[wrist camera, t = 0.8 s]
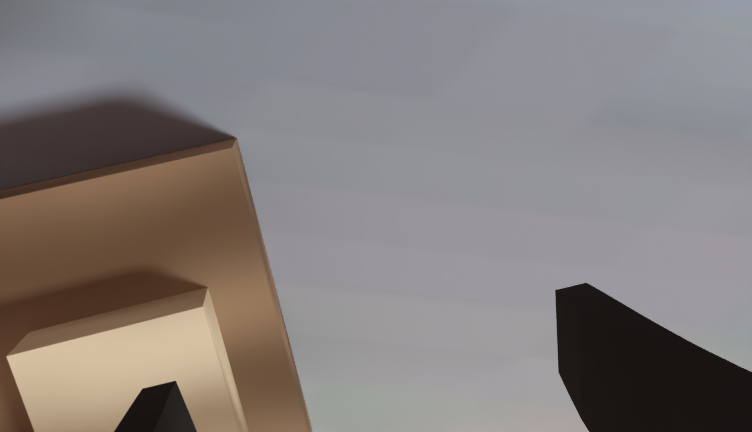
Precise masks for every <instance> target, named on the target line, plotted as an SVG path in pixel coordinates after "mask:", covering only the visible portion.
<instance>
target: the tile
mask: <svg viewBox="0 0 752 432" xmlns="http://www.w3.org/2000/svg"><path fill="white" fill-rule="evenodd" d="M6 357H7V360H8V362H9V365H10V368H11V370H12V373H13V376H14V378H15V381H16V384H17V386H18V389H19V392H20V395H21V397H22V400H23V403H24V405H25V408H26V411H27V413H28V416H29V419H30V421H31V424H32V427H33V429H34V432H114V431H115V429H116V428H117V426H118V425H119V423H120V421H121V420H122V418H123V417H124V415H125V414H126V412H127V411H128V409H129V408H130V406H131V405H132V403H133V402H134V400H135V399H136V397H137V396H138V395H139V393H140V392H141V390H142V389H143V388H147V387H151V386H156V385H160V384H164V383H168V382H172V381H176V382H177V385H178V387H179V389H180V392H181V394H182V397H183V399H184V401H185V404H186V406H187V409H188V411H189V413H190V416H191V418H192V421H193V423H194V425H195V428H196V430H197V432H249V430H248V426H247V423H246V419H245V416H244V412H243V409H242V405H241V402H240V398H239V395H238V391H237V388H236V384H235V381H234V377H233V374H232V370H231V367H230V363H229V360H228V356H227V353H226V349H225V345H224V342H223V338H222V335H221V331H220V328H219V324H218V321H217V317H216V314H215V310H214V307H213V303H212V300H211V296H210V293H209V289H208V287H207V288H203V289H199V290H195V291H191V292H187V293H183V294H179V295H175V296H171V297H167V298H163V299H159V300H155V301H151V302H147V303H143V304H139V305H135V306H131V307H127V308H123V309H119V310H115V311H111V312H107V313H103V314H99V315H95V316H91V317H87V318H83V319H79V320H75V321H71V322H67V323H63V324H59V325H55V326H51V327H47V328H43V329H39V330H35V331H31V332H29V333H28V334H27V335H26V336H25V337H24V338H23V339H22V340H21V341H20V342H19V343H18V344H17V346H16V347H15V348H14V349H13V350H12V351H11V352H10V353H9V354H8V355H7V356H6Z"/></svg>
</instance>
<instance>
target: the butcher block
mask: <svg viewBox="0 0 752 432" xmlns="http://www.w3.org/2000/svg"><path fill="white" fill-rule="evenodd" d="M207 287H208V289H209V293H210V296H211V300H212V303H213V307H214V310H215V314H216V317H217V321H218V324H219V328H220V331H221V335H222V338H223V342H224V345H225V349H226V353H227V356H228V360H229V363H230V367H231V370H232V374H233V377H234V381H235V384H236V388H237V391H238V395H239V398H240V402H241V405H242V409H243V412H244V416H245V419H246V423H247V426H248V430H249V432H312V428H311V424H310V420H309V416H308V412H307V409H306V405H305V401H304V397H303V393H302V389H301V385H300V381H299V378H298V374H297V370H296V366H295V362H294V358H293V354H292V350H291V347H290V343H289V339H288V335H287V331H286V327H285V323H284V319H283V316H282V312H281V308H280V304H279V300H278V296H277V292H276V288H275V285H274V281H273V277H272V273H271V269H270V265H269V261H268V257H267V254H266V250H265V246H264V242H263V238H262V234H261V230H260V226H259V222H258V219H257V215H256V211H255V207H254V203H253V199H252V195H251V191H250V188H249V184H248V180H247V176H246V172H245V168H244V164H243V160H242V157H241V153H240V149H239V145H238V141H237V138H234V139H230V140H225V141H221V142H216V143H212V144H207V145H203V146H198V147H194V148H189V149H185V150H180V151H176V152H171V153H167V154H162V155H158V156H153V157H149V158H144V159H140V160H135V161H131V162H126V163H122V164H117V165H113V166H108V167H104V168H99V169H95V170H90V171H86V172H81V173H77V174H72V175H68V176H63V177H58V178H54V179H49V180H45V181H40V182H36V183H31V184H27V185H22V186H18V187H13V188H9V189H4V190H0V432H34V429H33V427H32V424H31V421H30V419H29V416H28V413H27V411H26V408H25V405H24V403H23V400H22V397H21V395H20V392H19V389H18V386H17V384H16V381H15V378H14V376H13V373H12V370H11V368H10V365H9V362H8V360H7V357H6V356H7V355H8V354H9V353H10V352H11V351H12V350H13V349H14V348H15V347H16V346H17V344H18V343H19V342H20V341H21V340H22V339H23V338H24V337H25V336H26V335H27V334H28V333H29V332H31V331H35V330H39V329H43V328H47V327H51V326H55V325H59V324H63V323H67V322H71V321H75V320H79V319H83V318H87V317H91V316H95V315H99V314H103V313H107V312H111V311H115V310H119V309H123V308H127V307H131V306H135V305H139V304H143V303H147V302H151V301H155V300H159V299H163V298H167V297H171V296H175V295H179V294H183V293H187V292H191V291H195V290H199V289H203V288H207Z"/></svg>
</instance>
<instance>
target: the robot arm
mask: <svg viewBox="0 0 752 432" xmlns="http://www.w3.org/2000/svg"><path fill="white" fill-rule="evenodd" d="M555 292H556V317H557V342H558V367H559V374H560V376H561V378H562V380H563V383H564V385H565V387H566V389H567V391H568V393H569V395H570V397H571V399H572V401H573V403H574V405H575V407H576V409H577V411H578V413H579V415H580V417H581V419H582V421H583V422H584V424H585V426H586V427H587V429H588V430H589V432H752V372H750V371H748V370H746V369H744V368H741V367H739V366H737V365H735V364H733V363H731V362H729V361H727V360H725V359H723V358H721V357H719V356H717V355H715V354H713V353H711V352H709V351H707V350H705V349H703V348H701V347H699V346H697V345H695V344H693V343H691V342H689V341H687V340H685V339H684V338H682V337H680V336H678V335H676V334H674V333H673V332H671V331H669V330H667V329H665V328H664V327H662V326H660V325H658V324H656V323H655V322H653V321H651V320H649V319H648V318H646V317H644V316H643V315H641V314H639V313H637V312H636V311H634V310H632V309H631V308H629V307H627V306H625V305H624V304H622V303H620V302H619V301H617V300H615V299H614V298H612V297H610V296H608V295H607V294H605V293H603V292H602V291H600V290H598V289H596V288H595V287H593V286H591V285H589V284H587V283H584V284H580V285H575V286H571V287H567V288H563V289H559V290H555ZM114 432H197V430H196V428H195V425H194V423H193V421H192V418H191V416H190V413H189V411H188V409H187V406H186V404H185V401H184V399H183V397H182V394H181V392H180V389H179V387H178V385H177V382H176V381H172V382H168V383H164V384H160V385H156V386H151V387H147V388H143V389H142V390H141V392H140V393H139V395H138V396H137V397H136V399H135V400H134V402H133V403H132V405H131V406H130V408H129V409H128V411H127V412H126V414H125V415H124V417H123V418H122V420H121V421H120V423H119V425H118V426H117V428H116V429H115V431H114Z"/></svg>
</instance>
